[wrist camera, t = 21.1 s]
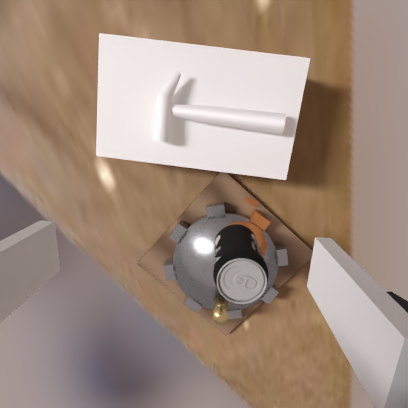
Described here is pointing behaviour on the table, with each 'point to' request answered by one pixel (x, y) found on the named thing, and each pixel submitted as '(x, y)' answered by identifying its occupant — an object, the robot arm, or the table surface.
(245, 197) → the board
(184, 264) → the sprocket
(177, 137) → the tissue box
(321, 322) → the table surface
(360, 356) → the robot arm
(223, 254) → the beverage can
